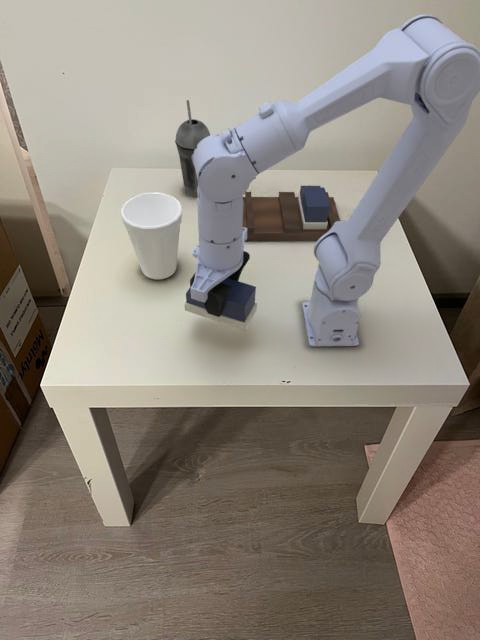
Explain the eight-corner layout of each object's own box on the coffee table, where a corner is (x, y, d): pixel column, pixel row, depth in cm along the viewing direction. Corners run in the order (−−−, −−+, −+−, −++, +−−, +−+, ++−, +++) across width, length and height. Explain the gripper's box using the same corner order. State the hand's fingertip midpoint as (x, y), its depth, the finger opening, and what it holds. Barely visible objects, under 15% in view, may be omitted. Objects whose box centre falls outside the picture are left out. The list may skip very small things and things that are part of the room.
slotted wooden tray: (341, 241, 95) (345, 227, 93) (240, 241, 94) (240, 227, 92) (331, 204, 103) (334, 192, 101) (238, 204, 102) (238, 191, 100)
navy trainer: (256, 310, 74) (258, 286, 71) (245, 330, 72) (246, 307, 68) (198, 291, 77) (196, 267, 73) (184, 310, 74) (182, 286, 70)
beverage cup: (219, 188, 106) (218, 96, 91) (199, 204, 102) (196, 110, 87) (191, 178, 108) (187, 86, 94) (172, 193, 104) (163, 100, 89)
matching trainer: (326, 229, 94) (331, 207, 90) (303, 229, 94) (306, 207, 90) (319, 199, 101) (322, 178, 97) (297, 199, 101) (300, 177, 97)
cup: (154, 244, 93) (146, 185, 83) (197, 263, 90) (194, 203, 80) (119, 274, 87) (107, 214, 77) (164, 296, 84) (157, 236, 74)
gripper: (215, 193, 68) (217, 265, 78) (166, 255, 59) (174, 327, 70) (262, 206, 67) (257, 278, 77) (218, 271, 58) (219, 343, 68)
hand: (221, 302), depth 73 cm, fingers closed on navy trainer, 4 cm apart
